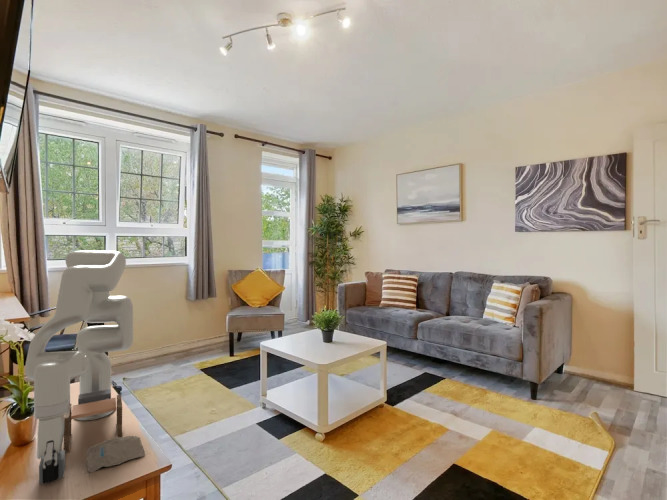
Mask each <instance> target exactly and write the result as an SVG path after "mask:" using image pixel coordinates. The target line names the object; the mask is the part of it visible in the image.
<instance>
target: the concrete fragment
mask: <svg viewBox="0 0 667 500" xmlns="http://www.w3.org/2000/svg"><path fill="white" fill-rule="evenodd" d="M145 453H146V451H145V449H144V446H143V444H142V440H141V437H139V436H137V435H129V436H128V435H126V436H123V437H117V436H115V437H111V438H109V439H106V440H104V441H102V442H99V443H98V444H97V443H96V444H94V445H91V446H90V447H89V448H87V452H86V468H87V470H88V472H89V473H90V474H92V473H94V472H96V471H97V470H99V469H101V468H102V467H105V468H108V467H112V466H116V465H120V464H122V463H125V462H128V461H131V460H133V459H139V458H143V457H144V456H145V455H146V454H145Z"/></svg>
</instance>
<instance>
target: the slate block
mask: <svg viewBox="0 0 667 500" xmlns="http://www.w3.org/2000/svg"><path fill="white" fill-rule="evenodd" d="M54 453H56V452H54ZM52 458H53V459H54V460H55V456H52ZM43 464H44V455H43V457H42V458H40V462H39V464H38V485H42V484H43ZM57 464H59V477H58V480H60V479H63V478H64V477H65V471H66V453H65V450H63V449H62V451H61V452H60V453H59V454H58V458H57Z"/></svg>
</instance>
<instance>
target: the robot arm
mask: <svg viewBox="0 0 667 500" xmlns="http://www.w3.org/2000/svg"><path fill="white" fill-rule="evenodd" d="M65 264H66V265H65V266H66V267H67V268H66V269H65V270H63V271H62V274H61V279H60V284H59V289H58V295H57V301H56V306H55V312H54V315H53V316H52V317H51V318H50V319H49V320H47V321H46V322H45V323H43V325H42V326H41V327H40V328H39V329H38V330H37V332H36V333H35V334H34V336H33V337H32V339H31V341H30V343H29V347H28V350H27V355H26V360H25V367H24V371H25V376H26V378H27V379H29V380H31V381H33V382H34V383H33V384H34V385H33V393H34V394H33V395H34V397H33V398H34V399H33V401H34V402H33V403H34V404H33V407H34V408H33V416H34V418H35V419H36V420H38V423H37V424H38V426H37V442H36V443H37V448H36V449H37V450H36V459H38V460H39V459H40V460H41V458H42V457H43V455H44V464H43V483H42V484H47V483H51V482H55V481H58V480H59V479H58V477H59V464H57V458H58V454H59V453H60V452H61V451H62V450H63V449H62V446H63V444H64V426H65V413H67V412H68V411H69V410H70V404H71V381H73V380H75V379H77V378H79V394H85V393H91V392H96V391H102V390H108V389H111V390H112V362H111V359H110V358H109V356H108V355H107V354H106V353H113V352H123V351H127V350H129V349H130V348H131V347H132V345H133V343H134V308H133V307H134V306H133V301H132V300H131V298H130V297H129V296H127V295H110V292H112V291H113V290H115V288H116V287H117V286H118V284H119V282H120V279H121V277H122V276H123V273H124V271H125V269H126V264H127V261H126V256H125V254H124V253H123V252H121V251H118V250H89V249H88V250H87V249H86V250H74V251H70V252H68V253H67V254H66V256H65ZM80 322H85V323H88V324H96V323H97V324H101V323H104V324H105V323H116V324H105V325H103V324H101V325H89V326H87V327H86V326H85V327H84V328H82V329H80V330H79V331H78V333H77V335H76V339H75V343H76V347H77V350H65V351H64V350H63V351H62V350H61V351H49V352H46V351H45V350H46V346H47V345H48V342H49V341H50V340H51V339H52V337H54V336H55V335H56V334H58V333H59V332H61V331H62V330H64V329H67V328H69V327H70V326H73V325H75V324H78V323H80ZM113 413H114V411H110V412H105V413H101V414H96V415H91V416H86V417H81V418H76V419H75V420H78V421H92V420H98V419H101V418H104V417H107V416H109V415H111V414H113ZM54 452H56V453H54ZM52 456H55V460H54V459H53V458H52Z"/></svg>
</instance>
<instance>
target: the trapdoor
mask: <svg viewBox="0 0 667 500" xmlns="http://www.w3.org/2000/svg"><path fill="white" fill-rule="evenodd" d="M77 402H78V403H77V404H75V405H72V407H71V421H72V420H77V419H76V418H81V417H86V416H91V415H96V414H101V413H105V412H110V411H113V412H115V411H117V397H112V388H111V389H108V390H102V391H96V392H91V393H85V394H80V393H79V394H78V401H77Z"/></svg>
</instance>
